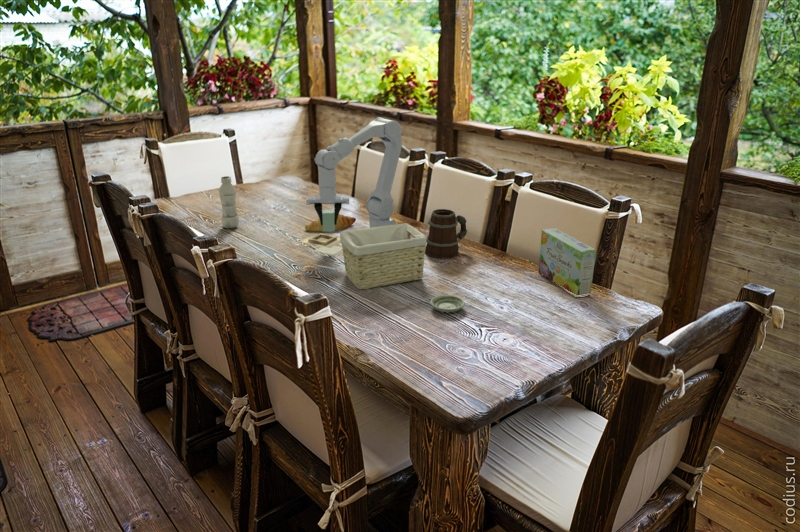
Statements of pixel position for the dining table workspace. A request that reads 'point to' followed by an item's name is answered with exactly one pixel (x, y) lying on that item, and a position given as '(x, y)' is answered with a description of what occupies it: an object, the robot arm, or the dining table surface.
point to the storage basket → (383, 255)
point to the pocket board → (322, 240)
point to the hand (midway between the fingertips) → (328, 224)
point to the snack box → (566, 261)
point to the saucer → (447, 303)
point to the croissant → (341, 223)
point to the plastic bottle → (228, 203)
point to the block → (328, 220)
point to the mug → (444, 234)
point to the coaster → (329, 249)
